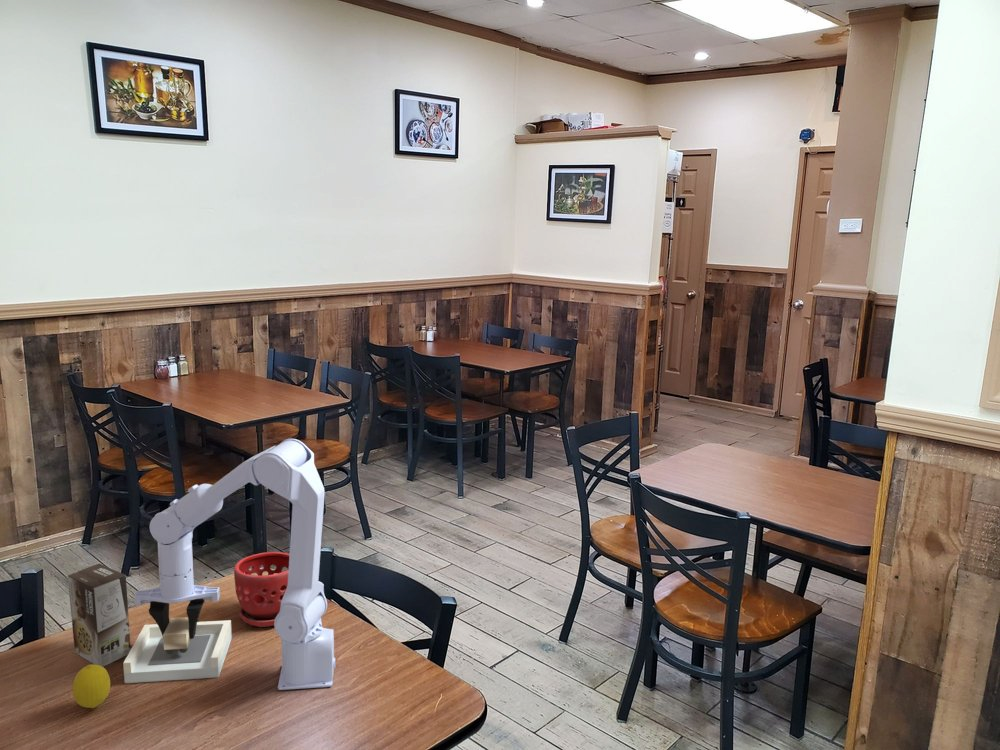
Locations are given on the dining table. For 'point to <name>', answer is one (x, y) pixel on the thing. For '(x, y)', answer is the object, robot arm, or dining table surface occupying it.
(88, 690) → the lemon
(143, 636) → the dock
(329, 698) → the dining table surface
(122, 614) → the coffee box
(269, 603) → the plant pot
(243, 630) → the dining table surface
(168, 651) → the cream rectangular block
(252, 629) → the dining table surface
